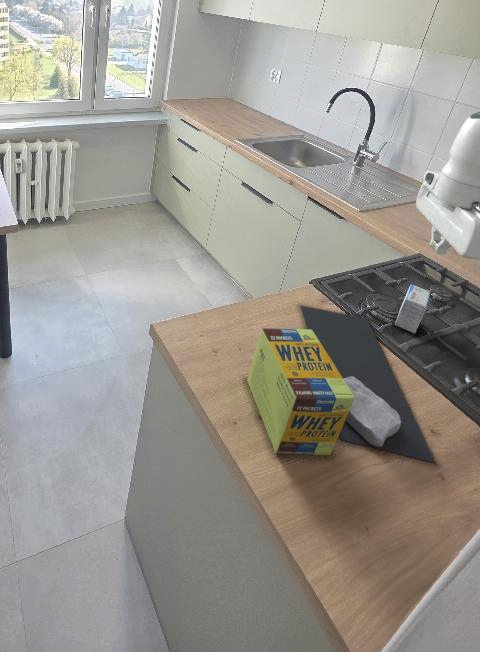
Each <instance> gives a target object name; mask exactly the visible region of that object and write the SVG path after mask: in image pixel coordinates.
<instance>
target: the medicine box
mask: <svg viewBox="0 0 480 652" xmlns="http://www.w3.org/2000/svg"><path fill="white" fill-rule="evenodd" d="M430 297H431V291H429V290H426V289H424V288H422V287H420V286H417V285H414V284H410V285H409V287H408V290H407V292H406V294H405V296H404V299H403V301H402V303H401V305H400V308H399V311H398V313H397V314H398V315H397V316H396V320H395V322H394V325H395V326H396V327H399V328H401V329H403V330H406V331H408V332H410V333H412V334H416V333H417V330H418V328H419V327H420V323H421V321H422V319H423V317H424V315H425V312H426V311H427V307H428V304H429V301H430Z"/></svg>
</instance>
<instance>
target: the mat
mask: <svg viewBox="0 0 480 652" xmlns="http://www.w3.org/2000/svg"><path fill="white" fill-rule="evenodd" d="M300 309H301V312H302V316H303V319H304V322H305V326H306V329H311V330H312V331H313V332H314V334H315V335H316V337H317V338H318V340H319V341H320V343H321V345H322V346H323V348H324V349H325V351H326V352H327V354H328V356H329V357H330V359H331V360H332V362H333V363H334V365H335V367H336V368H337V370H338V371H339V373H340V375H341V376H342V378H343V379H344V378H347V377H349V376H352V377H355V378H356V379H358V380H359V381H360V382H362V383H363V384H364V385H365V386H366V387H367V388H368V389H370V390H371V391H372V392H374V394H375V395H376V396H378V397H380V398H382V399H383V400H384V401H385V402H386V403H388V405H389V406H390V407H391V408H392V409H394V410H395V411H397V413H398V415H399V416H400V420H401V424H400V428H399V430H398V431H397V432H396V433H394V434H393V435H392V436H389V437H387V438H386V439H385V441H384V444H383V445H382V447H375V446H374V445H372V444H370V443H369V442H367V441H366V440H365V439H364V438H363V437H362V436H361V435H360V434H358V432H357V431H356V430H355V429H354V428H352V427H351V426H350V425H349V424H348V423H347V422H346V421H345V422H344V424H343V427H342V429H341V431H340V434H339V436H338V440H339V441H342V442H346V443H351V444H353V445H354V444H355V445H360V446H363V447H367V448H371V449H376V450H379V451H383V452H387V453H391V454H395V455H399V456H403V457H408V458H412V459H416V460H420V461H424V462H429V463H432V464H436V461H435V459H434V456H433V454H432V452H431V451H430V448H429V446H428V444H427V442H426V440H425V437H424V435H423V433H422V431H421V429H420V427H419V425H418V423H417V420H416V419H415V416H414V415H413V412H412V410H411V408H410V406H409V403H408V401H407V399H406V398H405V395H404V393H403V391H402V389H401V387H400V385H399V383H398V381H397V378H396V376H395V375H394V372H393V370H392V367H391V365H390V364H389V362H388V360H387V357H386V355H385V353H384V351H383V349H382V347H381V345H380V343H379V340H378V338H377V336H376V335H375V332H374V330H373V328H372V326H371V324H370V322H369V320H368V318H367V317H362V316H357V315H351V314H346V313H340V312H335V311H331V310H324V309H320V308H315V307H309V306H304V305H301V306H300Z"/></svg>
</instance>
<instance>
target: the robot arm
mask: <svg viewBox="0 0 480 652" xmlns="http://www.w3.org/2000/svg"><path fill="white" fill-rule="evenodd" d="M415 200H416V201H415V207H416V209H417V210H418V211H419V213H420V214H422V215H423V216H424V217H425V219H426V220H427V221H428V222H429V224H431V225H432V227H431V240H430V242H429V246H430V247H431V248H432V250H433V251H434V252H435V253H436V254H438V255H442V256H443V255H446V254H447V252H448V251H449V249H450V248H451V247H452V248H453V249H454V250H455V251H456V252H457V254H458V255H459V256H460V257H462V258H466V259H471V260H479V261H480V111H477V112H475V113H472V114H471V115H469V116H468V117H467V119H466V120H465V121H464V123H463V124H462V125H461V127H460V129H459V130H458V132H457V134H456V136H455V138H454V140H453V143H452V145H451V147H450V149H449V157H448V161H447V163H446V164H445V165H444V166H443V167H442V168H441V170H440V171H435V170H426V171H425V172H424V174H423V182H422V184H421V186H420V188H419V190H418V193H417V197H416V199H415Z"/></svg>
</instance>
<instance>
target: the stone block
mask: <svg viewBox="0 0 480 652" xmlns="http://www.w3.org/2000/svg"><path fill="white" fill-rule="evenodd" d="M344 381H345V382H346V384H347V385H348V387H349V389H350V390H351V392H352V393H353V395H354V396H355V399H354V402H353V404H352V406H351V409H350V411H349V413H348V415H347V418H346V420H345V421H346V422H347V423H348V424H349V425H350V426H351V427H352V428H354V429H355V430H356V431H357V432H358V434H360V435H361V436H362V437H363V438H364V439H365V440H366V441H367V442H369V443H370V444H372V445H374V446H375V447H382V445H383V444H384V441H385V439H386V438H387V437H389V436H392V435H393V434H394V433H396V432H397V431H398V430H399V428H400V424H401V420H400V416H399V415H398V413H397V411H395V410H394V409H392V408H391V407H390V406H389V405H388V403H386V402H385V401H384V400H383V399H382V398H380V397H378V396H376V395H375V394H374V392H372V391H371V390H370V389H368V388H367V387H366V386H365V385H364V384H363V383H362V382H360V381H359V380H358V379H356V378H355V377H352V376H349V377H347V378H344Z"/></svg>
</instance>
